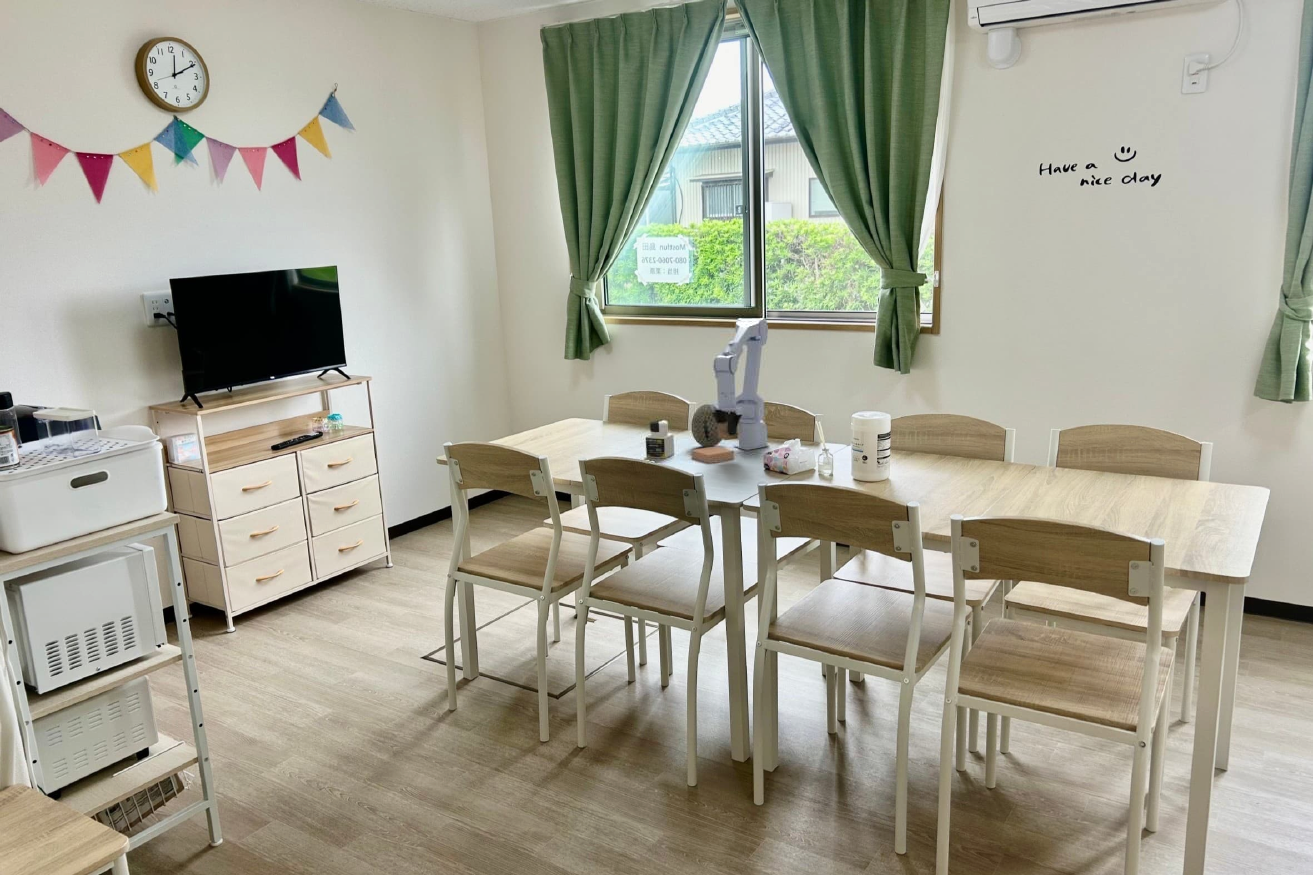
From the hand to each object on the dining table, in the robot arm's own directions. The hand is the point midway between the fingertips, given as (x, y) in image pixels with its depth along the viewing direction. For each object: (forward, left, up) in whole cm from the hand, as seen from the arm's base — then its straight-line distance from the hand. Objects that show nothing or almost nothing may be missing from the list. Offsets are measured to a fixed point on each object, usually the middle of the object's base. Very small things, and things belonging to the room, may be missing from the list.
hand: (727, 433), depth 312 cm
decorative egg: (-6, -19, -9) cm, 22 cm away
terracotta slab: (+3, -4, -9) cm, 10 cm away
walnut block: (0, 0, -2) cm, 2 cm away
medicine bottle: (+14, -19, -9) cm, 26 cm away
